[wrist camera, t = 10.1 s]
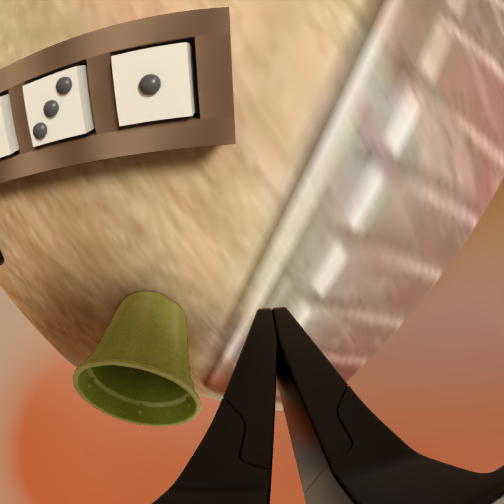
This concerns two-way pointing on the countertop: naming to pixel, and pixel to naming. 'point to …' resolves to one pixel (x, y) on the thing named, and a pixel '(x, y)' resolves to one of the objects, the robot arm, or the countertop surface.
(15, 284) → the countertop surface
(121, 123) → the tile one dot
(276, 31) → the countertop surface
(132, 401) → the plant pot
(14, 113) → the tile board
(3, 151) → the tile two dot
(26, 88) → the tile three dot
